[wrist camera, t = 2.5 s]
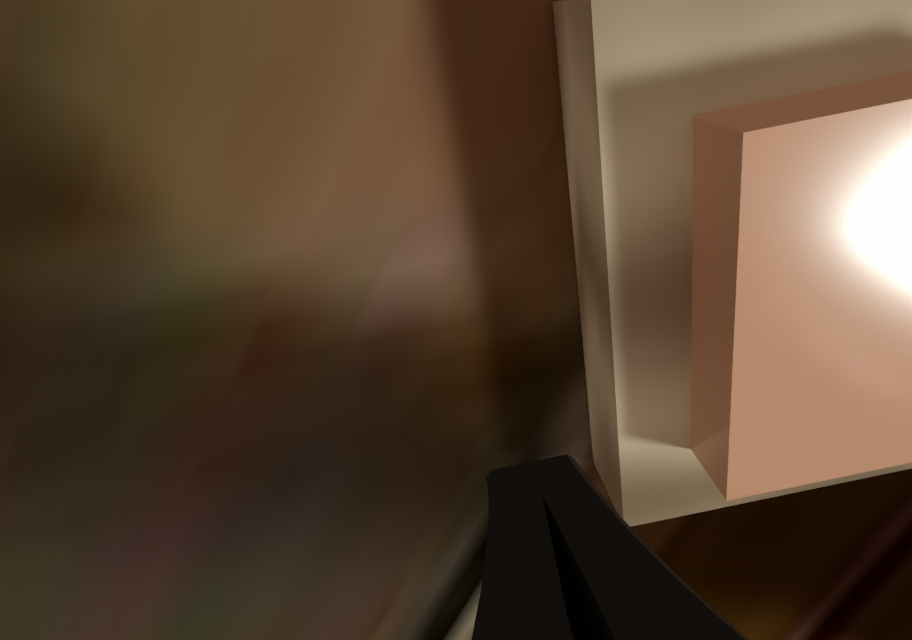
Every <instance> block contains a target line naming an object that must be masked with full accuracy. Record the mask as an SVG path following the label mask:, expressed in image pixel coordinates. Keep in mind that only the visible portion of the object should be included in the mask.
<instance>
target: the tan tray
mask: <svg viewBox="0 0 912 640" xmlns="http://www.w3.org/2000/svg"><path fill="white" fill-rule="evenodd" d="M553 13H554V24H555V36H556V47H557V58H558V69H559V81H560V92H561V103H562V114H563V126H564V137H565V148H566V159H567V171H568V182H569V193H570V205H571V216H572V227H573V238H574V250H575V261H576V272H577V283H578V295H579V306H580V317H581V328H582V340H583V351H584V362H585V374H586V385H587V396H588V407H589V419H590V430H591V441H592V452H593V462H594V464H595V466H596V468H597V470H598V473H599V475H600V477H601V479H602V481H603V484H604V486H605V488H606V490H607V492H608V494H609V497H610V499H611V501H612V503H613V505H614V508H615V510H616V512H617V513H618V514H619V515H620V516H621V517H622V519H623V520H624V521H625V522H626V523H627V524H628V525H629V526H630V527H632V526H637V525H641V524H646V523H651V522H656V521H661V520H665V519H670V518H675V517H680V516H685V515H690V514H694V513H699V512H704V511H709V510H714V509H718V508H723V507H728V506H733V505H738V504H743V503H747V502H752V501H757V500H762V499H767V498H771V497H776V496H781V495H786V494H791V493H795V492H800V491H805V490H810V489H815V488H820V487H824V486H829V485H834V484H839V483H844V482H848V481H853V480H858V479H863V478H868V477H873V476H877V475H882V474H887V473H892V472H897V471H901V470H906V469H911V468H912V463H907V464H902V465H897V466H892V467H888V468H883V469H878V470H873V471H868V472H864V473H859V474H854V475H849V476H844V477H839V478H835V479H830V480H825V481H820V482H815V483H811V484H806V485H801V486H796V487H791V488H786V489H782V490H777V491H772V492H767V493H762V494H758V495H753V496H748V497H743V498H738V499H733V500H729V501H726V500H725V498H724V497H723V495H722V494H721V492H720V491H719V490H718V488H717V487H716V485H715V484H714V482H713V481H712V479H711V478H710V477H709V475H708V474H707V472H706V471H705V469H704V468H703V466H702V465H701V463H700V462H699V461H698V459H697V458H696V456H695V455H694V453H693V452H692V450H691V341H692V222H693V115H698V114H703V113H708V112H713V111H718V110H723V109H727V108H732V107H737V106H742V105H747V104H752V103H757V102H762V101H767V100H772V99H777V98H782V97H787V96H792V95H797V94H802V93H807V92H812V91H817V90H822V89H827V88H832V87H837V86H842V85H847V84H852V83H857V82H862V81H867V80H872V79H877V78H882V77H887V76H892V75H897V74H902V73H907V72H912V0H559V1H554V2H553Z"/></svg>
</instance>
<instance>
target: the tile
mask: <svg viewBox="0 0 912 640" xmlns="http://www.w3.org/2000/svg"><path fill="white" fill-rule="evenodd" d="M691 450H692V452H693V453H694V455H695V456H696V458H697V459H698V461H699V462H700V463H701V465H702V466H703V468H704V469H705V471H706V472H707V474H708V475H709V477H710V478H711V479H712V481H713V482H714V484H715V485H716V487H717V488H718V490H719V491H720V492H721V494H722V495H723V497H724V498H725V500H726V501H729V500H733V499H738V498H743V497H748V496H753V495H758V494H762V493H767V492H772V491H777V490H782V489H786V488H791V487H796V486H801V485H806V484H811V483H815V482H820V481H825V480H830V479H835V478H839V477H844V476H849V475H854V474H859V473H864V472H868V471H873V470H878V469H883V468H888V467H892V466H897V465H902V464H907V463H912V72H907V73H902V74H897V75H892V76H887V77H882V78H877V79H872V80H867V81H862V82H857V83H852V84H847V85H842V86H837V87H832V88H827V89H822V90H817V91H812V92H807V93H802V94H797V95H792V96H787V97H782V98H777V99H772V100H767V101H762V102H757V103H752V104H747V105H742V106H737V107H732V108H727V109H723V110H718V111H713V112H708V113H703V114H698V115H693V222H692V341H691Z"/></svg>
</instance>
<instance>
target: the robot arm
mask: <svg viewBox="0 0 912 640" xmlns="http://www.w3.org/2000/svg"><path fill="white" fill-rule="evenodd" d="M486 478H487V484H488V495H489V521H488V536H487V547H486V555H485V563H484V571H483V580H482V587H481V593H480V599H479V604H478V609H477V614H476V620H475V625H474V630H473V635H472V640H749V639H748V638H747V637H746V636H745V635H743V634H742V633H741V632H740V631H739V630H738V629H736V628H735V627H734V626H733V625H732V624H731V623H729V622H728V621H727V620H726V619H725V618H724V617H723V616H721V615H720V614H719V613H718V612H717V611H716V610H715V609H714V608H712V607H711V606H710V605H709V604H708V603H707V602H706V601H705V600H704V599H703V598H701V597H700V596H699V595H698V594H697V593H696V592H695V591H694V590H693V589H692V588H691V587H690V586H689V585H687V584H686V583H685V582H684V581H683V580H682V579H681V578H680V577H679V576H678V575H677V574H676V573H675V572H674V571H673V570H672V569H671V568H670V567H669V566H668V565H667V564H666V563H665V562H664V561H663V560H662V559H661V558H660V557H659V556H658V555H657V554H656V553H655V552H654V551H653V550H652V549H651V548H650V547H649V546H648V545H647V544H646V543H645V542H644V541H643V540H642V539H641V538H640V537H639V536H638V535H637V534H636V533H635V531H634V530H633V529H632V528H631V527H630V526H629V525H628V524H627V523H626V522H625V521H624V520H623V519H622V517H621V516H620V515H619V514H618V513H617V512H616V511H615V510H614V508H613V507H612V506H611V505H610V504H609V503H608V501H607V500H606V499H605V498H604V497H603V496H602V494H601V493H600V492H599V491H598V490H597V488H596V487H595V486H594V485H593V483H592V482H591V481H590V480H589V478H588V477H587V476H586V475H585V473H584V472H583V471H582V469H581V468H580V467H579V465H578V464H577V462H576V461H575V459H574V458H572V457H570V456H569V455H562V456H557V457H552V458H547V459H543V460H538V461H533V462H528V463H523V464H519V465H514V466H509V467H504V468H499V469H495V470H492V471H491V472H490V473H489V474H488V476H487V477H486Z"/></svg>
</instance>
